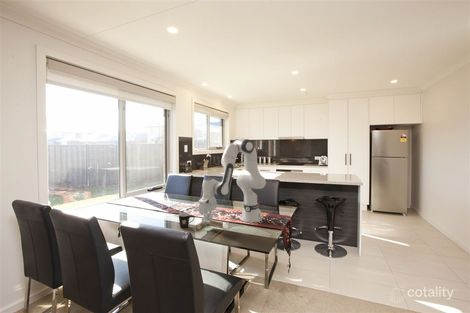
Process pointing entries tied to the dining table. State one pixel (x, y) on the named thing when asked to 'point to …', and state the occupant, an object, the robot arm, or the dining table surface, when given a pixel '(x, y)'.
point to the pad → (207, 228)
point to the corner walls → (213, 223)
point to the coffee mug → (184, 220)
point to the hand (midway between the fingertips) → (208, 216)
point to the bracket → (208, 218)
